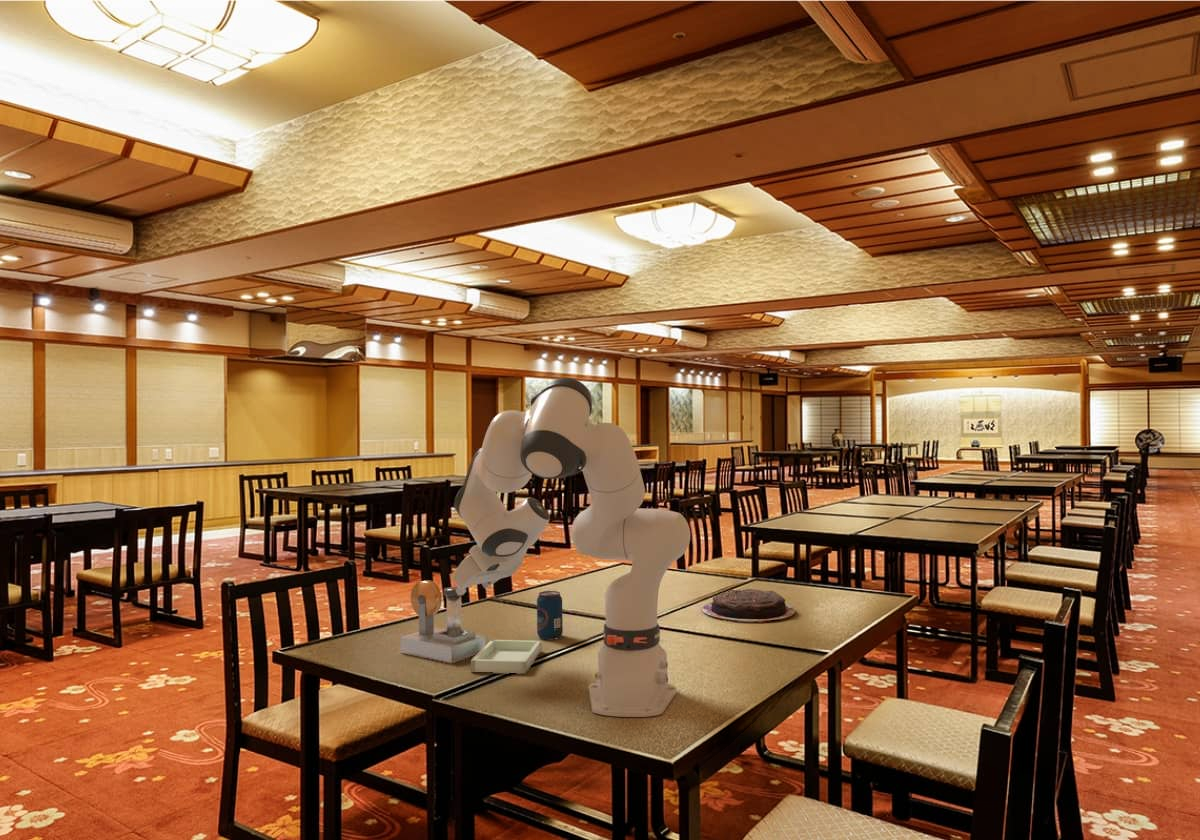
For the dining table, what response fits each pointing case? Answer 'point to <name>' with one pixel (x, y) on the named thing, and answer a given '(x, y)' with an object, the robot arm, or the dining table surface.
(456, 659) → the block
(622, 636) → the robot arm
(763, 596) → the chocolate cake
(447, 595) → the dome-capped glass cylinder
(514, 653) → the tray
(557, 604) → the soda can
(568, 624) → the dining table surface
